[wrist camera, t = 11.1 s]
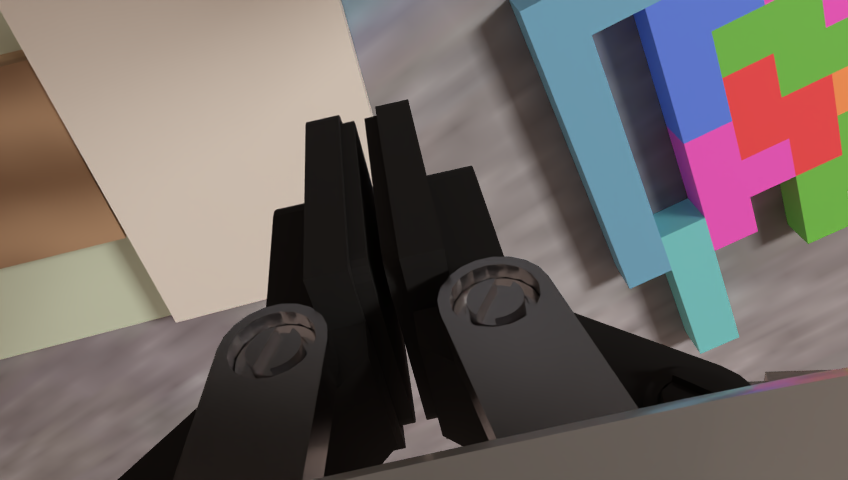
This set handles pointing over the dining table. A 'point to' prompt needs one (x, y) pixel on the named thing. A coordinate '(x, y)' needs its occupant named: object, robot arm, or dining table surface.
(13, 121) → the tile
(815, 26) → the tetris game
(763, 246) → the dining table surface
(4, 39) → the mat
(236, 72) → the board
